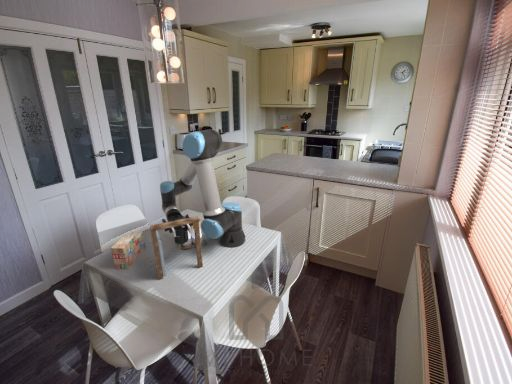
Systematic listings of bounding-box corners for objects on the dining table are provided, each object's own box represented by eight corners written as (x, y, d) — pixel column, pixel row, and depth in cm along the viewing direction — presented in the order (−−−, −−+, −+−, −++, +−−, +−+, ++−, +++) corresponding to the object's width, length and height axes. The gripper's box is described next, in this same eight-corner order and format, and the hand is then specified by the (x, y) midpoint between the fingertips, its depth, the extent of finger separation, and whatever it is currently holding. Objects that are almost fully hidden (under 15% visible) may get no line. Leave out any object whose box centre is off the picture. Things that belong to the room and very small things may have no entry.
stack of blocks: (135, 246, 153) (131, 227, 149) (145, 246, 153) (142, 227, 149) (115, 269, 133) (110, 247, 129) (127, 269, 133) (123, 247, 129)
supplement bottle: (174, 245, 131) (171, 223, 127) (174, 238, 137) (171, 217, 133) (189, 243, 132) (186, 221, 128) (188, 236, 139) (186, 215, 134)
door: (156, 260, 139) (151, 229, 133) (161, 259, 140) (156, 228, 134) (160, 276, 127) (155, 242, 120) (166, 274, 128) (161, 241, 121)
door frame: (201, 264, 136) (197, 215, 126) (202, 267, 134) (198, 217, 125) (158, 277, 127) (149, 225, 118) (158, 279, 125) (150, 227, 116)
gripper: (191, 217, 153) (203, 234, 133) (155, 224, 144) (162, 244, 125) (190, 205, 150) (202, 220, 131) (153, 211, 142) (160, 229, 122)
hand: (182, 232), depth 128 cm, fingers closed on supplement bottle, 7 cm apart
